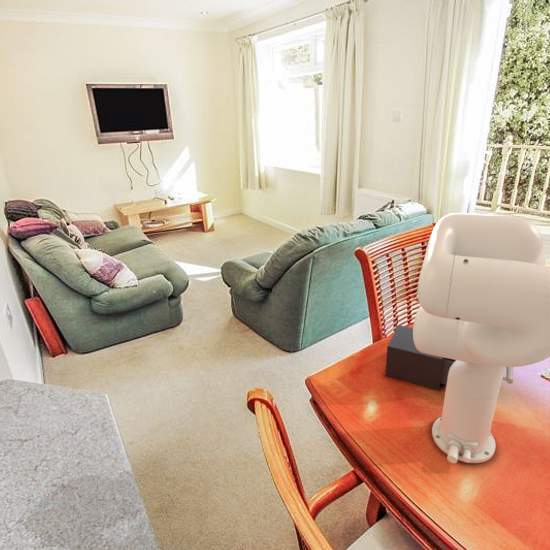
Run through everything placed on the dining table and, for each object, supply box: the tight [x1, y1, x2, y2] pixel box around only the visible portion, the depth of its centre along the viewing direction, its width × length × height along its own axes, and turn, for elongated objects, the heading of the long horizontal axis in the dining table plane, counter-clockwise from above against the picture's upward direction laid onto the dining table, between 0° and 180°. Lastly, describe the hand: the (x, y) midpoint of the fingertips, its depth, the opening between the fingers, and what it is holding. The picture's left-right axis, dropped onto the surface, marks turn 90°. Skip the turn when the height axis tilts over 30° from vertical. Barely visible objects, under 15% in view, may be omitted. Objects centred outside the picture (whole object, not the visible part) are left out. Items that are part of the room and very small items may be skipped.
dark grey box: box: [385, 324, 444, 391], centre depth 103 cm, size 14×12×10 cm
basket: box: [440, 358, 514, 386], centre depth 97 cm, size 18×11×8 cm, turn 59°
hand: (469, 352), depth 95 cm, fingers closed on onion, 6 cm apart
